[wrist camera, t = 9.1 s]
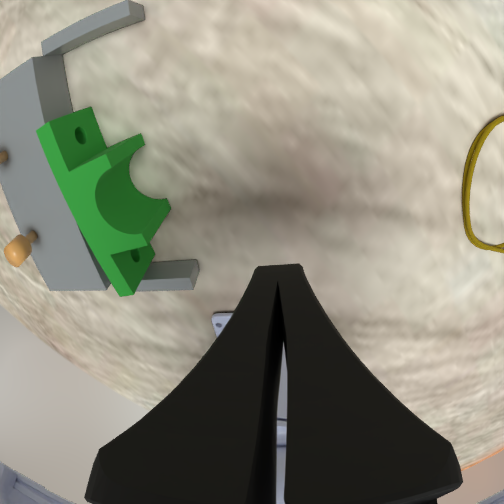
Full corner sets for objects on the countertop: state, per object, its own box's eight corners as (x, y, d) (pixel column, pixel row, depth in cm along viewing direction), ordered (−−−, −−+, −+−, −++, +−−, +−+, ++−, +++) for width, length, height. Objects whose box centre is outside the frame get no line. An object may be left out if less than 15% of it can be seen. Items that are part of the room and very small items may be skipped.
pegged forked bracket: (199, 271, 21) (180, 331, 16) (71, 277, 23) (40, 323, 18) (142, 5, 11) (89, -14, 7) (5, 76, 13) (-52, 93, 8)
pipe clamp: (188, 244, 20) (170, 289, 17) (143, 255, 21) (120, 297, 17) (125, 88, 14) (83, 98, 11) (79, 112, 15) (33, 131, 11)
